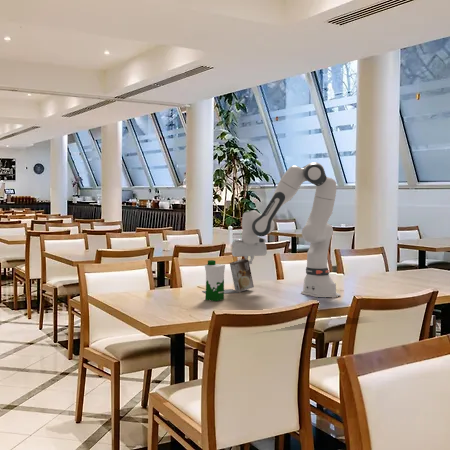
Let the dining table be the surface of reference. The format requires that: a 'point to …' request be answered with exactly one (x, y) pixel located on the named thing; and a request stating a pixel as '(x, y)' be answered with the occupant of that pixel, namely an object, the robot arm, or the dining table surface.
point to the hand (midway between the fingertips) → (249, 263)
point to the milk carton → (214, 281)
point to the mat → (227, 291)
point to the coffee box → (241, 275)
